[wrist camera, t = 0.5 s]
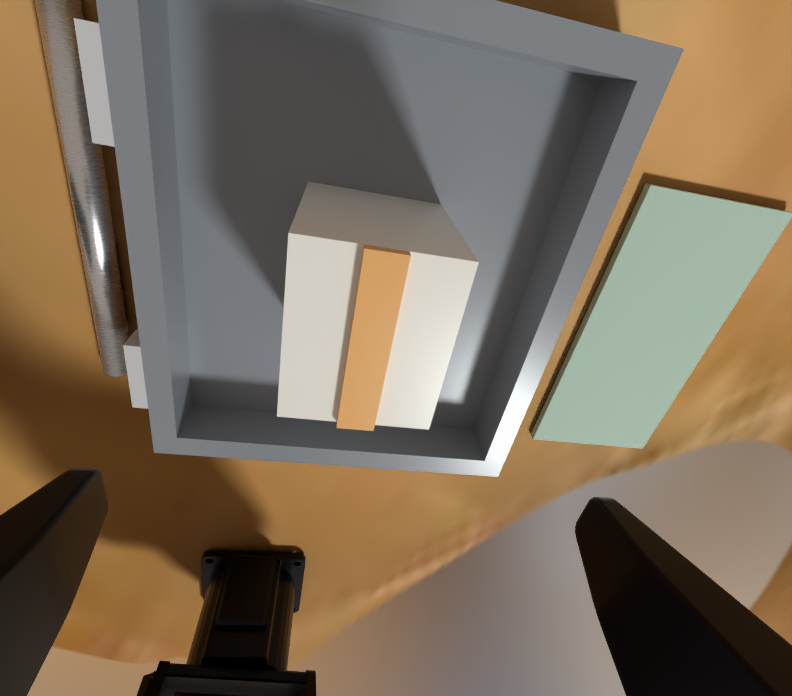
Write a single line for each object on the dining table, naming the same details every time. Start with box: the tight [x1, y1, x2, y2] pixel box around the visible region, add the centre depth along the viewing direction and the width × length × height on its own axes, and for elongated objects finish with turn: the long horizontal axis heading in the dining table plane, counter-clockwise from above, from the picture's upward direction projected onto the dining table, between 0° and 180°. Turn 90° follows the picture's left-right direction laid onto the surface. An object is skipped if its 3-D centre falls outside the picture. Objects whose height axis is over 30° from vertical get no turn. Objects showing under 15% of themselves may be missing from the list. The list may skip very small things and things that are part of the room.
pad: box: [531, 183, 792, 449], centre depth 22 cm, size 14×7×1 cm, turn 169°
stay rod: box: [34, 0, 129, 377], centre depth 17 cm, size 14×1×1 cm, turn 169°
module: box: [277, 181, 479, 431], centre depth 15 cm, size 6×5×6 cm
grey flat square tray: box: [74, 0, 683, 477], centre depth 18 cm, size 18×17×3 cm
